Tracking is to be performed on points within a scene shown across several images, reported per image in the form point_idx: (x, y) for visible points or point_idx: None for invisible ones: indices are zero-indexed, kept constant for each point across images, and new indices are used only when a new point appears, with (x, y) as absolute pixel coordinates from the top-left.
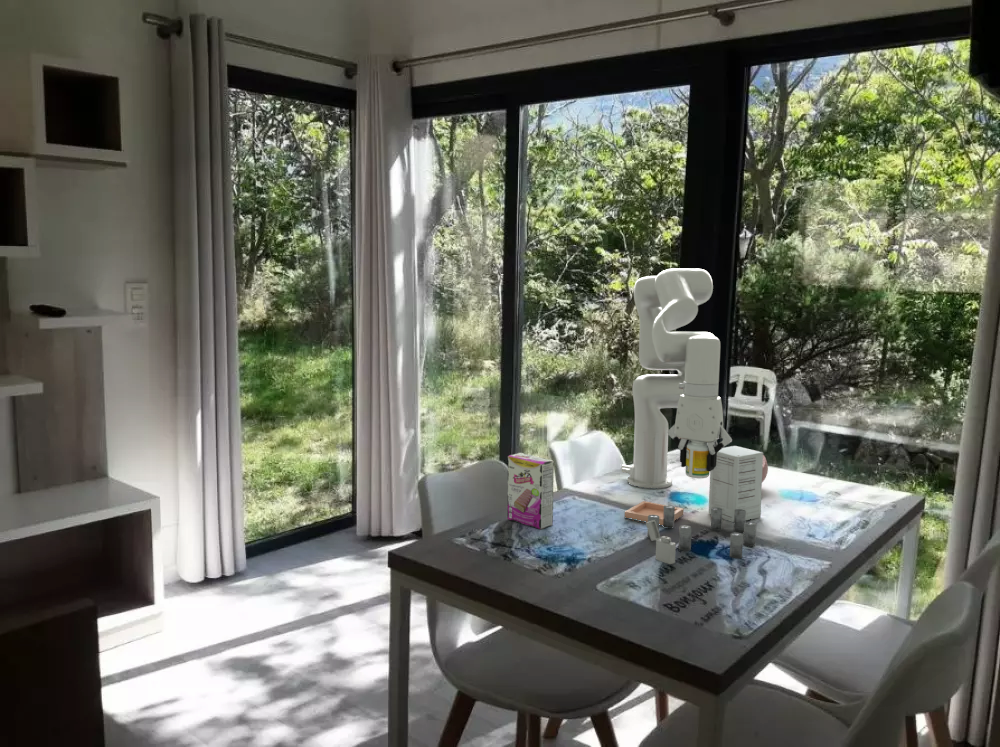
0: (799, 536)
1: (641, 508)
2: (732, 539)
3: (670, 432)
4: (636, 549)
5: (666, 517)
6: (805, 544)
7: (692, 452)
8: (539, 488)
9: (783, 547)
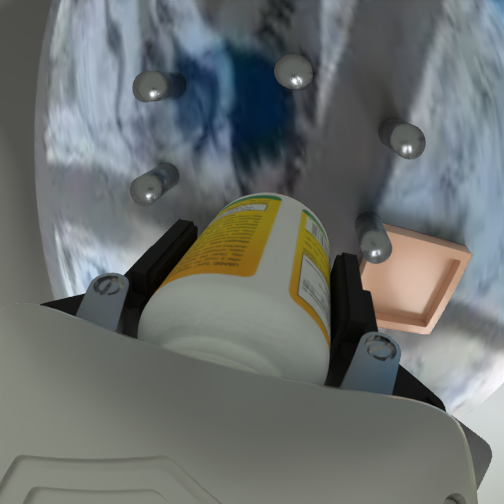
0: (113, 264)
1: (432, 306)
2: (158, 72)
3: (472, 457)
4: (406, 32)
5: (377, 224)
6: (93, 227)
7: (264, 270)
8: None
9: (113, 193)
